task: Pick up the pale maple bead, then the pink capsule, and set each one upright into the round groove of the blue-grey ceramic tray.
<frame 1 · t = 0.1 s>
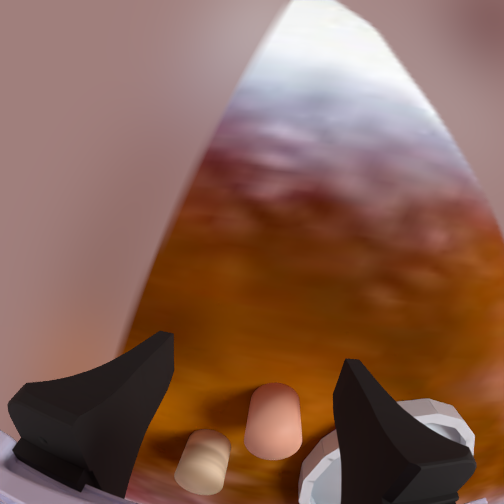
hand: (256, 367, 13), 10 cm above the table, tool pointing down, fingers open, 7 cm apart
groove tray: (387, 468, 25), on the table
pink capsule: (274, 402, 24), on the table
maple bead: (209, 444, 26), on the table
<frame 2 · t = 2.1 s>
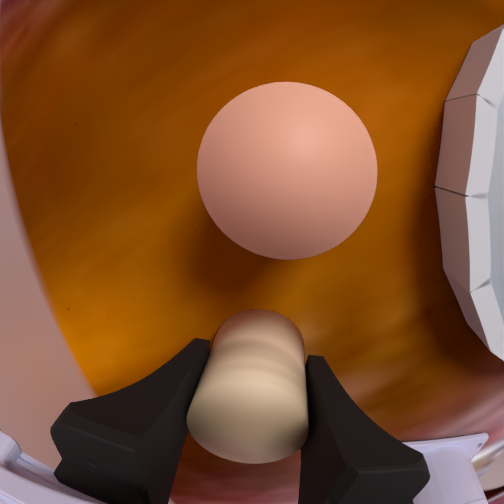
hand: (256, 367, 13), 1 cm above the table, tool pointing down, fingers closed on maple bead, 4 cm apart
pink capsule: (286, 163, 12), on the table
maple bead: (259, 348, 14), on the table, touching gripper
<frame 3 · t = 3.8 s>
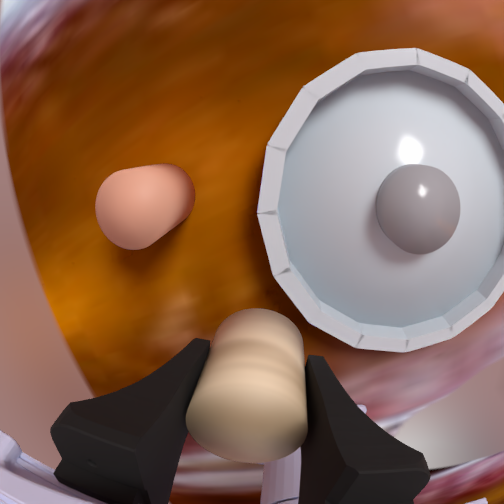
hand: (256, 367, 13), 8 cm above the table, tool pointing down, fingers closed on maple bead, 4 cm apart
groove tray: (408, 203, 18), on the table
pink capsule: (164, 195, 20), on the table
maple bead: (258, 347, 14), point 7 cm above the table, touching gripper
when the fingers open (4 cm above the table, at t = 5.4 s): maple bead drops 1 cm, resting on groove tray.
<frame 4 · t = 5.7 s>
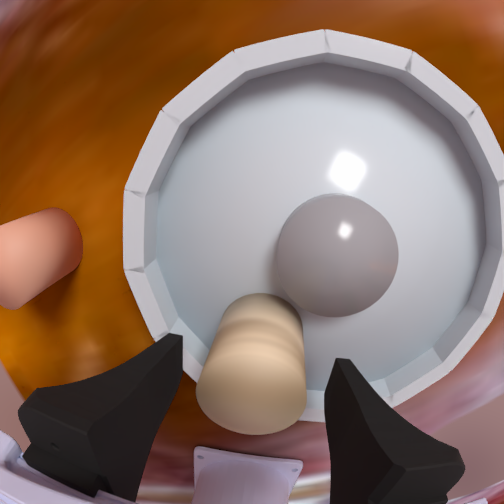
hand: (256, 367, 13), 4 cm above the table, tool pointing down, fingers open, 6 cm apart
groove tray: (331, 243, 15), on the table
pink capsule: (56, 241, 16), on the table
maple bead: (261, 330, 15), point 1 cm above the table, touching groove tray
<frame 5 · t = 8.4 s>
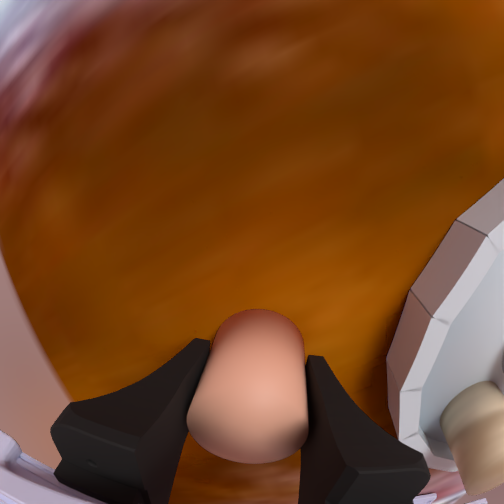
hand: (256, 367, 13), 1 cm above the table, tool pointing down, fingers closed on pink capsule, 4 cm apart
pink capsule: (259, 348, 14), on the table, touching gripper
maple bead: (470, 408, 13), point 1 cm above the table, touching groove tray
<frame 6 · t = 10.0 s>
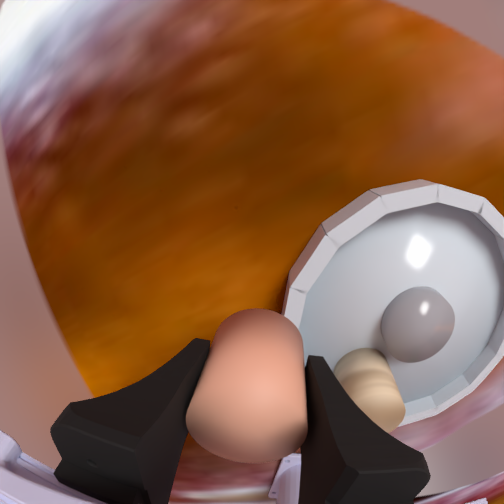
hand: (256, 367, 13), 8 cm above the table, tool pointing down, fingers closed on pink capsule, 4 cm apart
groove tray: (409, 313, 20), on the table
pink capsule: (258, 347, 14), point 7 cm above the table, touching gripper
maple bead: (360, 370, 21), point 1 cm above the table, touching groove tray
when the fingers open (4 cm above the table, at t = 11.8 s): pink capsule drops 1 cm, resting on groove tray.
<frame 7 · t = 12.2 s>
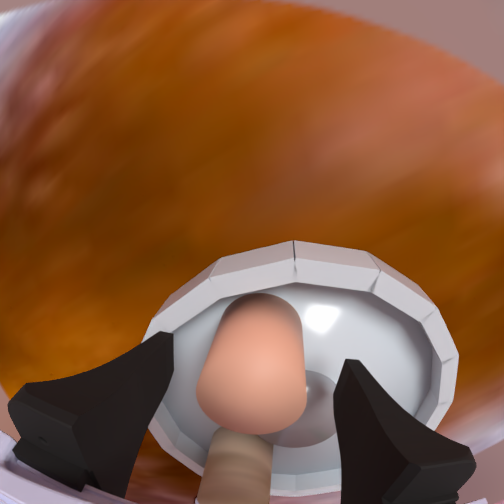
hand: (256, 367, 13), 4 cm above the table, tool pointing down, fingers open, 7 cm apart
groove tray: (296, 391, 18), on the table
pink capsule: (260, 330, 15), point 1 cm above the table, touching groove tray
maple bead: (242, 442, 18), point 1 cm above the table, touching groove tray
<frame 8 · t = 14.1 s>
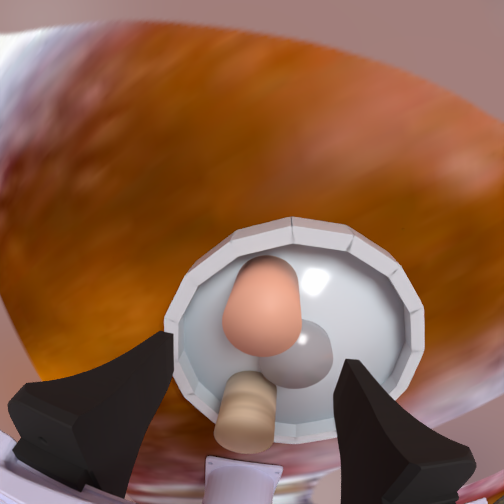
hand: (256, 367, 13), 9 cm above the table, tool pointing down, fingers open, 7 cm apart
groove tray: (295, 341, 23), on the table
pink capsule: (267, 285, 21), point 1 cm above the table, touching groove tray
maple bead: (251, 389, 23), point 1 cm above the table, touching groove tray
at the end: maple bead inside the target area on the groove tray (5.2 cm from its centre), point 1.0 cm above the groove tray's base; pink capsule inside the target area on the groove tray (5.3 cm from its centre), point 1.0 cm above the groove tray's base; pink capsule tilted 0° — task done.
